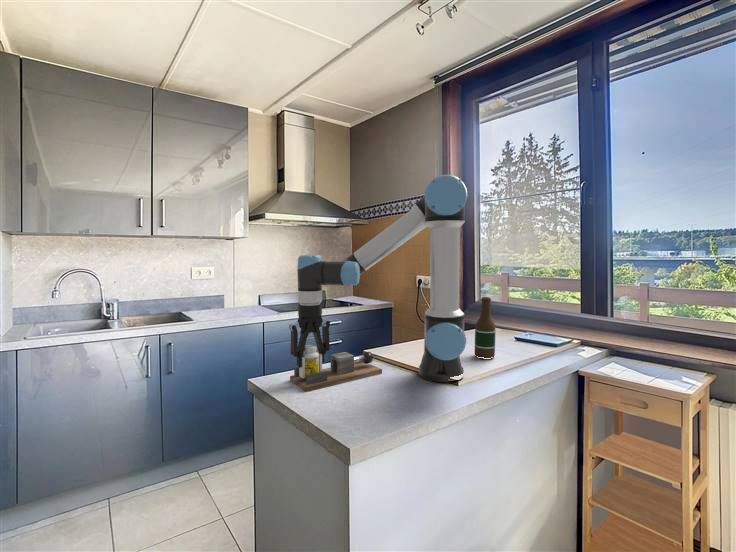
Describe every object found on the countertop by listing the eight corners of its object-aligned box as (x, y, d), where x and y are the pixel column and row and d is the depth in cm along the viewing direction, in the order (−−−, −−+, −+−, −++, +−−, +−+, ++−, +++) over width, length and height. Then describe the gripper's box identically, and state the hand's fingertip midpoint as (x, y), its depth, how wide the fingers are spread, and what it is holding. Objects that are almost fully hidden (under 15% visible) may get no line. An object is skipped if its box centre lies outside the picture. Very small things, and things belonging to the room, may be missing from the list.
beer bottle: (495, 360, 150) (497, 299, 148) (475, 359, 152) (476, 298, 150) (493, 354, 158) (495, 296, 156) (473, 353, 159) (475, 295, 157)
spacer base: (382, 373, 135) (382, 353, 134) (306, 391, 118) (306, 368, 117) (362, 364, 145) (362, 345, 144) (289, 380, 128) (289, 359, 127)
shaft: (372, 364, 137) (372, 352, 137) (340, 371, 130) (340, 359, 129) (366, 361, 140) (366, 350, 140) (334, 368, 133) (334, 356, 132)
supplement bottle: (321, 373, 127) (321, 344, 126) (314, 379, 122) (314, 349, 121) (307, 372, 128) (306, 343, 128) (299, 377, 123) (299, 347, 123)
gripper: (329, 299, 132) (329, 366, 134) (277, 304, 121) (279, 377, 123) (340, 302, 126) (341, 372, 127) (287, 307, 115) (289, 384, 117)
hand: (310, 374), depth 125 cm, fingers closed on supplement bottle, 5 cm apart
